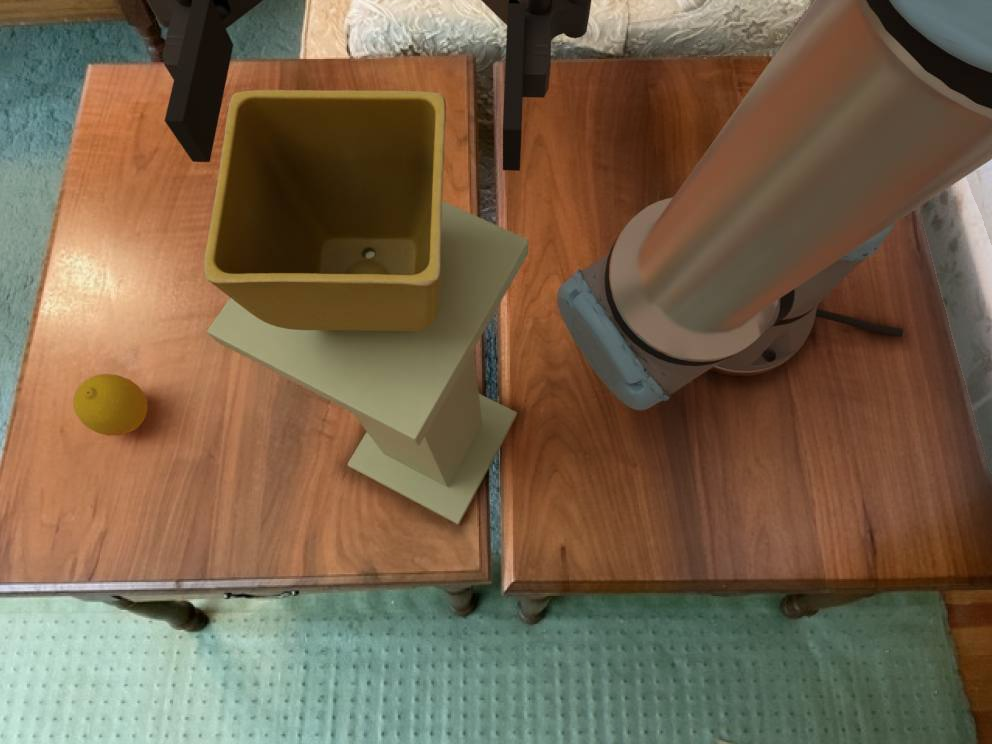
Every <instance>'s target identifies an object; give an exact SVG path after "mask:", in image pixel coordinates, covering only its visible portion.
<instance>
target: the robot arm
mask: <svg viewBox="0 0 992 744" xmlns="http://www.w3.org/2000/svg"><path fill="white" fill-rule="evenodd" d="M263 1H264V0H146V2H147V4H148V6H149V7H150V9H151V11H152V13H153V14H154V16H155V17H156V19H157V21H158V23H159V24H160V25H161V26H162V27H163V28H166V29H167V33H166V37H165V41H164V45H163V49H162V53H161V57H162V61H163V65H164V67H165V68H166V70H167V71H168V73H169V74H170V75H169V76H170V77H171V78H172V79H173V82H172V87H171V91H170V95H169V100H168V103H167V104H168V105H167V109H166V113H165V117H164V122H165V124H166V125H167V127H168V128H169V130H170V131H171V133H172V134H173V136H174V137H175V138H176V140H177V141H178V142H179V144H180V146H181V147H182V149H183V150H184V151H185V153H186V154H187V156H188V158H190V160H191V162H192V163H210V162H211V159H212V154H213V148H214V143H215V138H216V133H217V128H218V123H219V118H220V113H221V108H222V104H223V99H224V94H225V88H226V84H227V78H228V74H229V69H230V64H231V59H232V54H233V50H234V43H233V41H232V39H231V36H230V34H229V32H228V30H227V29H228V28H229V27H230V26H232V25H233V24H234V23H236V22H237V21H238V20H240V19H241V18H242V17H243V16H245V15H246V14H247V13H249V12H250V11H252V9H254V8H255V7H257V6H258V5H259V4H260V3H262V2H263ZM480 1H481V3H484V5H485V6H486V7H487V8H488V9H489V10H490V11H492V12H493V13H494V14H495V16H497V18H498V19H499V20H500V21H501V22H503V24H505V26H506V39H505V40H506V43H505V63H504V64H505V66H504V67H505V68H504V87H503V88H504V89H503V113H502V115H503V116H502V171H514V172H515V171H517V172H518V171H519V172H520V171H521V155H522V130H523V129H522V128H523V127H522V126H523V99H524V98H541V99H543V98H545V96H546V95H547V93H548V90H549V89H550V77H551V67H552V41H553V40H554V39H555V38H556V37H558V36H560V35H564V36H566V37H568V38H570V39H578V38H582V37H584V36H585V35H586V34H587V32H588V25H589V20H590V14H591V7H592V0H480ZM711 142H712V143H711V144H710V145H709V147H708V148H707V149H706V151H704V153H703V155H702V156H701V158H700V159H699V161H698V162H697V163H696V165H695V166H694V168H693V169H692V170H691V171H690V173H689V174H688V176H687V177H686V179H685V180H684V182H683V183H682V185H681V186H680V187H679V189H677V191H676V193H675V194H674V196H673V197H668V198H665V199H662V200H659V201H656V202H654V203H651V204H649V205H647V206H646V207H645V208H643V209H642V210H641V211H639V212H638V213H636V214H635V215H634V216H633V217H632V218H631V219H630V220H629V221H628V222H627V224H626V225H625V226H624V227H623V228H622V230H621V232H620V233H618V236H617V238H616V239H615V241H614V242H613V243H612V246H611V247H610V248H609V250H608V252H607V253H605V254H604V255H603V256H602V257H601V258H599V259H598V260H597V261H595V262H593V263H592V264H590V265H588V266H587V267H585V268H584V269H582V270H581V269H577V270H575V271H574V273H573V275H572V276H570V277H569V278H567V279H566V280H565V281H564V282H563V283H561V284H560V286H559V287H558V289H557V292H556V302H557V306H558V310H559V313H560V316H561V318H562V320H563V322H564V324H565V326H566V328H567V331H568V332H569V335H570V336H571V337H572V340H573V341H574V343H575V344H576V346H577V348H578V349H579V351H580V353H581V354H582V356H583V357H584V359H585V360H586V362H587V363H588V364H589V366H590V367H591V369H592V371H593V372H594V373H595V374H596V376H597V377H598V378H599V380H600V381H601V382H602V383H603V385H604V386H605V387H606V388H607V389H608V391H610V392H611V394H613V395H614V396H615V398H617V400H619V401H620V402H621V403H622V404H624V405H625V406H626V407H628V408H630V409H632V410H635V411H645V410H648V409H650V408H652V407H653V406H656V405H657V404H659V403H661V402H662V401H663V402H667V401H668V400H669V399H670V398H671V395H673V394H674V393H676V392H677V391H679V390H680V389H682V388H683V387H684V386H687V384H689V383H691V382H692V381H694V380H695V379H697V378H698V377H700V376H702V375H703V374H704V373H706V372H708V371H711V372H713V373H717V374H720V375H726V376H731V377H752V376H758V375H761V374H765V373H768V372H771V371H772V370H773V371H774V370H775V369H778V368H779V367H780V366H782V365H784V364H785V363H786V362H787V361H789V360H790V359H791V358H792V357H793V356H795V355H796V353H798V352H799V351H800V349H801V348H802V347H803V346H804V344H805V342H806V341H807V340H808V338H809V336H810V334H811V331H812V329H813V327H814V323H815V320H816V318H820V319H823V320H828V321H832V322H837V323H840V324H844V325H847V326H850V327H855V328H858V329H862V330H866V331H869V332H873V333H876V334H877V333H878V334H881V335H888V336H893V337H902V336H903V335H904V328H903V327H894V326H888V325H882V324H877V323H874V322H871V321H870V322H869V321H867V320H866V321H865V320H863V319H859V318H855V317H853V316H848V315H844V314H841V313H837V312H832V311H828V310H824V309H820V308H818V306H819V304H820V303H822V302H823V300H824V299H826V297H828V295H829V294H831V293H832V292H833V290H834V289H836V288H837V287H838V286H839V285H840V284H841V283H842V282H843V281H844V280H845V279H846V278H847V277H848V276H849V275H850V274H851V273H852V272H853V271H854V270H855V269H856V268H857V267H858V266H859V265H860V264H861V263H862V262H863V261H864V260H866V259H867V258H869V257H870V256H873V255H874V254H875V253H877V252H878V251H879V249H880V247H881V245H882V244H883V243H884V240H885V239H886V238H887V237H888V235H889V234H890V233H891V231H892V230H893V228H894V226H895V225H896V223H897V222H898V221H900V220H901V219H903V218H905V217H906V216H908V215H909V214H911V213H912V212H914V211H916V210H917V209H918V208H920V207H922V206H923V205H925V204H926V203H928V202H929V201H931V200H932V199H933V198H935V197H936V196H938V195H940V194H941V193H943V192H944V191H946V190H947V189H948V188H949V189H950V187H952V186H953V185H955V184H957V182H960V181H961V180H963V179H964V178H965V177H967V176H968V175H971V174H972V173H973V172H975V171H976V170H978V169H979V168H980V167H982V166H984V165H985V164H987V163H988V162H990V161H991V160H992V0H813V1H812V2H811V3H810V4H809V6H808V8H807V9H806V11H805V12H804V13H803V15H802V16H801V17H800V19H799V20H798V21H797V23H796V24H795V26H794V27H793V28H792V30H791V32H790V33H789V34H788V35H787V37H786V39H785V40H784V42H783V43H781V45H780V46H779V48H778V50H777V51H776V52H775V54H774V55H773V56H772V58H771V59H770V61H769V62H768V64H767V65H766V67H765V68H764V69H763V71H762V72H761V74H760V75H759V77H758V78H757V79H756V81H755V82H754V84H753V85H751V87H750V89H749V90H748V92H747V93H746V95H745V96H744V97H743V99H742V100H741V102H740V103H739V104H738V106H737V107H736V108H735V109H734V112H733V113H732V114H731V116H730V117H729V118H728V120H726V123H725V124H724V126H723V127H722V128H721V130H720V131H719V133H718V134H717V135H716V136H715V138H714V140H713V141H711Z"/></svg>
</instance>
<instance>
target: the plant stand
mask: <svg viewBox="0 0 992 744" xmlns="http://www.w3.org/2000/svg"><path fill="white" fill-rule="evenodd" d="M529 245H530V240H529V239H528V238H526V237H524V236H522V235H520V234H517V233H515V232H513V231H510V230H509V229H506V228H504V227H502V226H499V225H497V224H495V223H492V222H490V221H488V220H486V219H484V218H483V217H480V216H477V215H475V214H473V213H471V212H468V211H466V210H464V209H462V208H459V207H457V206H455V205H453V204H450V203H449V202H446V201H444V200H442V218H441V251H440V286H439V306H438V312H437V316H436V318H435V320H434V322H433V323H432V325H431V326H429V327H428V328H426V329H424V330H421V331H360V330H293V329H285V328H280V327H276V326H273V325H270V324H268V323H266V322H264V321H262V320H260V319H258V318H257V317H255V316H254V315H252V314H251V313H250V312H248V311H247V310H246V309H244V308H243V307H242V306H240V305H239V304H238V303H237V302H235V301H234V300H233V299H232V298H230V297H229V298H228V300H227V302H226V303H225V305H224V306H223V307H222V309H221V310H220V311H219V313H218V315H217V316H216V317H215V318H214V320H213V322H212V323H211V325H210V326H209V327H208V329H207V330H206V333H207V334H208V335H209V336H210V337H211V338H212V339H213V340H214V341H215V342H216V343H217V344H220V345H221V346H223V347H225V348H227V349H230V350H231V351H233V352H235V353H237V354H239V355H240V356H243V357H245V358H246V359H248V360H250V361H251V362H254V363H256V364H258V365H260V366H262V367H264V368H266V369H267V370H269V371H272V372H273V373H275V374H278V375H279V376H280V377H283V378H285V379H287V380H288V381H291V382H293V383H294V384H296V385H298V386H301V387H302V388H304V389H306V390H308V391H310V392H311V393H314V394H316V395H317V396H320V397H322V398H324V399H326V400H328V401H329V402H331V403H333V404H335V405H337V406H339V407H341V408H342V409H345V410H347V411H349V412H351V413H352V414H353V416H354V417H355V419H357V421H358V422H359V424H360V425H361V426H362V428H363V429H364V430H365V431H366V432H365V433H364V435H363V437H362V439H361V441H360V442H359V444H358V446H357V447H356V449H355V450H354V453H353V454H352V455H351V457H350V459H349V461H348V462H347V467H349V468H350V469H352V470H354V471H356V472H358V473H360V474H361V475H364V476H365V477H367V478H369V479H371V480H373V481H375V482H377V483H378V484H380V485H382V486H384V487H386V488H387V489H390V490H392V491H394V492H395V493H397V494H399V495H401V496H402V497H404V498H406V499H408V500H410V501H411V502H414V503H416V504H418V505H420V506H421V507H422V508H426V509H427V510H428V511H431V512H433V513H434V514H437V515H438V516H439V517H441V518H444V519H446V520H448V521H450V522H451V523H453V524H455V525H457V526H459V525H460V524H461V522H462V520H463V519H464V517H465V515H466V513H467V511H468V509H469V507H470V505H471V503H472V501H473V499H474V498H475V496H476V494H477V492H478V490H479V488H480V486H481V484H482V482H483V480H484V479H485V476H486V475H487V473H488V471H489V470H490V467H491V465H492V463H493V462H494V459H496V456H497V454H498V452H499V450H500V448H501V447H502V444H503V442H504V441H505V440H506V437H507V435H508V433H509V431H510V430H511V427H512V425H513V424H514V422H515V420H516V418H517V416H518V412H517V411H515V410H513V409H511V408H509V407H507V406H505V405H503V404H501V403H499V402H497V401H495V400H493V399H491V398H489V397H486V396H485V395H483V394H481V393H480V392H479V381H478V373H477V364H476V355H475V354H476V353H475V348H477V347H476V346H477V345H478V343H479V341H480V339H481V338H482V336H483V334H484V333H485V331H486V329H487V327H488V325H489V324H490V321H492V319H493V317H494V315H495V313H496V311H497V309H498V307H499V306H500V304H501V302H502V301H503V299H504V297H505V295H506V293H507V292H508V290H509V288H510V287H511V285H512V283H513V282H514V279H515V278H516V277H517V274H518V273H519V271H520V269H521V267H522V265H523V264H524V262H525V260H526V258H527V257H528V255H529ZM374 255H375V252H374V251H373V250H370V249H369V250H367V251H365V253H364V257H365V258H367V259H370V258H372V257H374Z"/></svg>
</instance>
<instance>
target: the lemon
mask: <svg viewBox="0 0 992 744" xmlns="http://www.w3.org/2000/svg"><path fill="white" fill-rule="evenodd" d="M72 404H73V410H74V412H75V414H76V416H77V418H78V419H79V420H80V422H81V423H82V424H83V425H84V426H85V427H87V429H90V431H93V432H95V433H97V434H100V435H104V436H110V437H112V436H114V437H115V436H116V437H119V436H123V435H128V434H129V433H131V432H133V431H136V429H138V428H139V427H140V426H141V425H142V424H143V422H144V420H145V419H146V417H147V413H148V409H149V408H148V406H149V405H148V401H147V396H146V394H145V393H144V392H143V390H142V388H141V387H140V386H139V385H138V384H136V383H135V382H134V381H133V380H131V379H129V378H126V377H124V376H122V375H118V374H110V373H102V374H97V375H93V376H90V377H88V378H87V379H85V380H84V381H83V382H82V383H81V384H80V385H79V386H78V388H77V389H76V390H75V393H74V395H73V400H72Z"/></svg>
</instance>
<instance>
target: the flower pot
mask: <svg viewBox="0 0 992 744" xmlns="http://www.w3.org/2000/svg"><path fill="white" fill-rule="evenodd" d="M228 103H229V104H228V109H227V115H226V120H225V121H226V122H225V126H224V135H223V143H222V149H221V155H220V162H219V170H218V175H217V182H216V189H215V193H214V200H213V201H214V202H213V208H212V212H211V217H210V218H211V219H210V222H209V229H208V235H207V240H206V248H205V252H204V261H203V274H204V278H205V279H206V280H207V281H208V282H209V283H211V284H212V285H213V286H215V287H216V288H217V289H219V291H221V292H222V293H224V294H225V295H226V296H228V297H229V299H230V298H232V299H233V300H234V301H235V302H237V303H238V304H239V305H240V306H242V307H243V308H244V309H246V310H247V311H248V312H250V313H251V314H252V315H254V316H255V317H257V318H258V319H260V320H262V321H264V322H266V323H268V324H270V325H273V326H276V327H280V328H285V329H293V330H360V331H421V330H424V329H426V328H428V327H429V326H431V325H432V323H433V322H434V320H435V318H436V316H437V312H438V306H439V286H440V251H441V218H442V201H443V191H444V189H443V188H444V187H443V185H444V166H445V164H444V163H445V162H444V161H445V138H446V137H445V136H446V135H445V133H446V121H447V120H446V118H447V117H446V116H447V110H446V109H447V106H446V105H447V103H446V99H445V96H444V95H443V94H442V93H438V92H432V91H423V90H421V91H420V90H419V91H418V90H355V89H354V90H353V89H352V90H351V89H345V90H315V89H313V90H310V89H291V90H289V89H252V90H243V91H236V92H234V93H233V94H232V95H231V98H230V100H229V102H228ZM369 249H370V250H373V251H374V252H375V255H374V257H372V258H370V259H367V258H365V257H364V253H365V251H367V250H369Z"/></svg>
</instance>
